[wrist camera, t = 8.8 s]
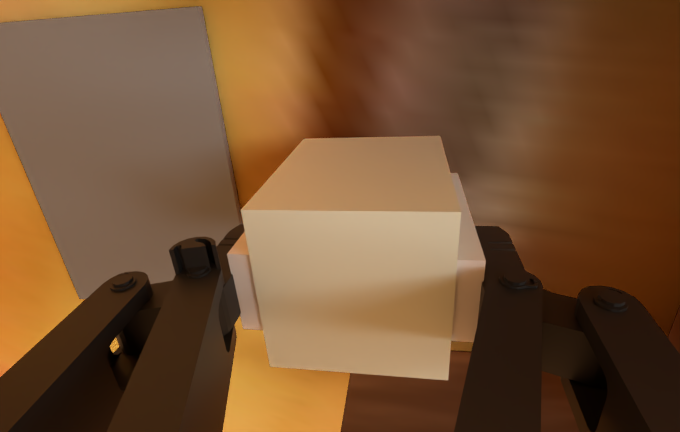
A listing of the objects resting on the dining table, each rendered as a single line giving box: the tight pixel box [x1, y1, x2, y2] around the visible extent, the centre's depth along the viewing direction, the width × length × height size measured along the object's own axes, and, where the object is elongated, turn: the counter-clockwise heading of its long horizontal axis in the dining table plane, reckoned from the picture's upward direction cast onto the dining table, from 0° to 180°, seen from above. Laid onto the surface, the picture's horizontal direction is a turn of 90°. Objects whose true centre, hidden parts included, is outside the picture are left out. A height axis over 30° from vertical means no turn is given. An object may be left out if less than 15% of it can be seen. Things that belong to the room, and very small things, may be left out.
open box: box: [341, 307, 680, 432], centre depth 14 cm, size 24×18×10 cm
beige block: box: [241, 136, 461, 380], centre depth 14 cm, size 6×6×7 cm
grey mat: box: [0, 6, 243, 299], centre depth 22 cm, size 16×12×1 cm
